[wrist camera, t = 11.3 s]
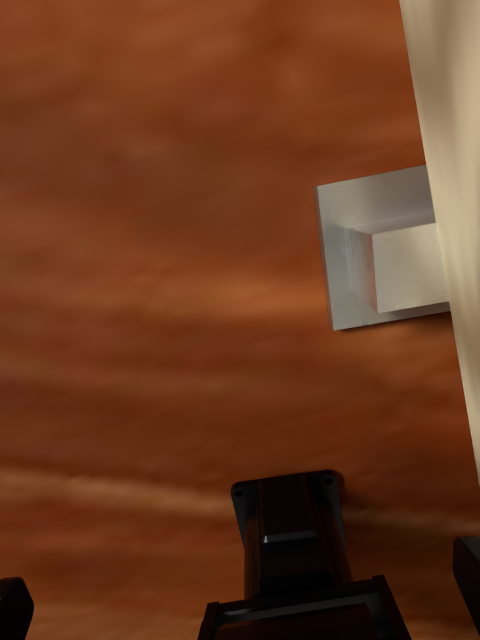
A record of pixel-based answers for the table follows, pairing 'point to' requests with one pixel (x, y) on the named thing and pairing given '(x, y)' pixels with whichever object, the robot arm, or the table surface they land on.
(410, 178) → the ridge
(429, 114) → the maple beam
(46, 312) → the table surface
